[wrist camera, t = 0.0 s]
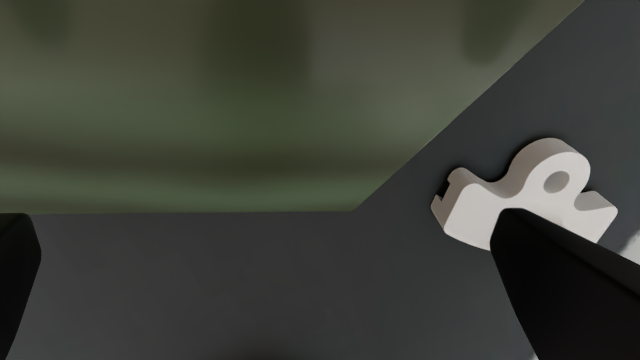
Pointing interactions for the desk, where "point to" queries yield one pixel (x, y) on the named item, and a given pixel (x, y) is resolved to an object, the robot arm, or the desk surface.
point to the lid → (238, 97)
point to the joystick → (525, 195)
